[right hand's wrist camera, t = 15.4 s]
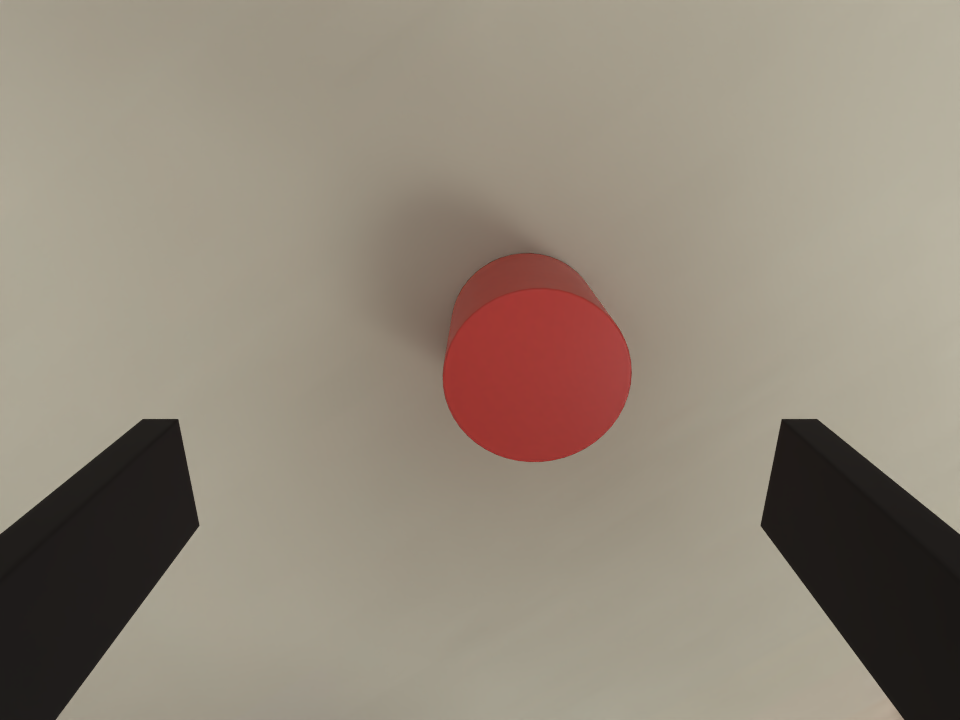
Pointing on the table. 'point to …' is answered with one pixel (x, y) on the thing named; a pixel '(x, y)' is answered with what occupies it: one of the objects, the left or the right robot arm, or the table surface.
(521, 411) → the canister
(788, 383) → the table surface
